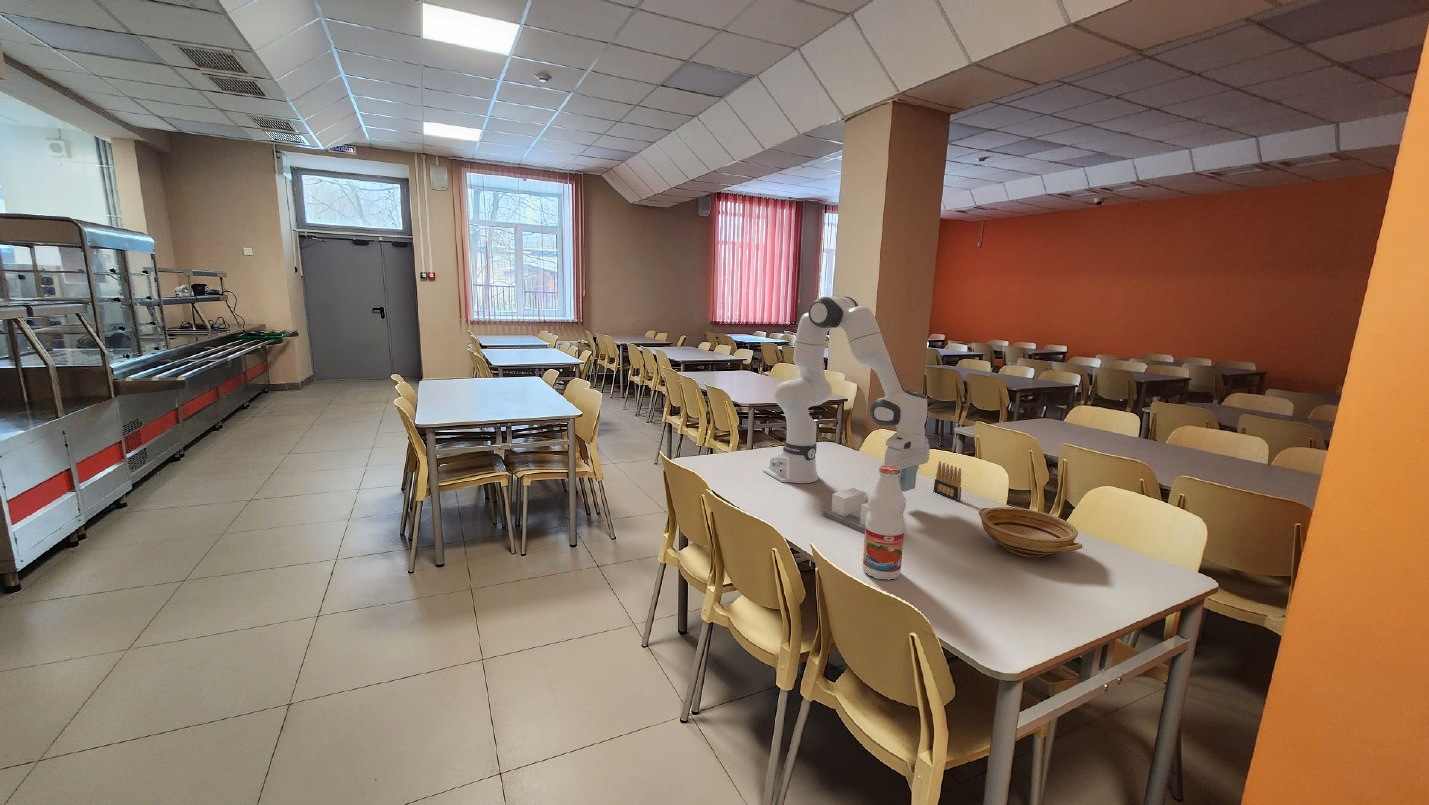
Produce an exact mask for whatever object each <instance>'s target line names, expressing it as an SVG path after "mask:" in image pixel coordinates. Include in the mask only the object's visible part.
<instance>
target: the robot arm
mask: <svg viewBox="0 0 1429 805" xmlns="http://www.w3.org/2000/svg"><path fill="white" fill-rule="evenodd" d="M836 328H837V329H838V328H841V329H842V330H843V331H844V332H845V335H846V338H847V342H848V344H849V348H850V351H851V353H852V355H853V357H854V359H855V360H856V361H857V362H858V363H860V364H862V365H865V367H866V366H867V367H869V368H870V369H872V370H873V372H875V373H876V375H877V377H878V379H879V381H880V384H881V387H882V389H883V393H884V395H885V396H884V397H880V398H878V399H876V400H874V401H873V402H872V403H871V405H870V408H869V414H870V418H871V419H872V421H873V422H874V423H875V424H877V426H878V425H879V426H883V427H890V426H892V427H893V426H894V427H896V431H895V433H893V435H891V436H890V437H889V438H887V439H886V440H885V446H887V447H886V449H885V451H884V452H885V453H884V460H883V461H884V463H883V465H893V466H897V467H899V469H900V472H902V469H906V468H909V467H913V466H917V472H918V470H919V468H920V465H925V464H928V462H929V460H930V444H929V439H928V437H927V436H925V434H926V430H925V424H926V421H927V419H928V418H927V415H928V400H927V396H926V395H925V394H924V393H922V392H920V391H918V390H913V389H904V387H903V385H902V382H901V380H900V377H899V375H898V372H897V370H896V367H895V364H894V363H893V360H892V358H891V356H890V354H889V352H888V349H887V347H886V345H885V342H884V338H883V335H882V332H881V329H880V327H879V324H878V322H877V320H876V317H875V316H874V313H873V311H872V309H870V308H869V307H868V306H865V305H859V303H858V302H857V301H856V300H855V299H854V298H852V297H849V296H842V295H841V296H840V295H831V296H822V297H819V298H816V299H814V300H813V301H812V302H811V304H810V305H809V307H808V312H806V313H803V315H801V317H800V319H799V322H798V326H797V330H796V335H795V340H794V341H795V342H794V347H793V357H792V358H793V359H792V361H793V363H794V365H795V366H796V367H797V368H798V369H799V378H794V379H787V380H785V381H783V382H781V383H779V384H777V386H776V387H775V389H774V400H775V403H776V405H778V406H779V407H780V408H781V410H782V411H783V413H784V416H785V419H786V440H785V441H782V442H781V446H783V447H782V450H780V451H778V452H777V453H775V454H773V455H772V456H771V458H770V460H769V466H766V467H764V468H763V471H762V472H764V473H765V474H767V475H768V476H770V477H772V478H774V479H776V480H777V481H779V482H781V483H794V484H809V483H814V482H816V481H818V480H819V477H818V471H817V470H818V469H817V459H816V454H817V449H818V448H817V442H816V440H817V423H816V421H815V420H814V419H813V418H812V417H811V415H810V413H809V412H810V411H809V407H814V406H815V407H817V406H819V405H822V404H823V403H826V402H828V401H829V400H830V399H831V398H832V391H833V390H832V386H831V384H830V382H829V380H827V378H826V376H825V370H824V358H825V350H826V341H827V335H828V332H829V331H830V329H836ZM898 479H899V482H901V481H902V479H903V476H901V473H899V475H898Z"/></svg>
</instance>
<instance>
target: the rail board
mask: <svg viewBox="0 0 1429 805" xmlns="http://www.w3.org/2000/svg"><path fill="white" fill-rule="evenodd" d="M868 512H869V506H868V502H866V491H863V490H861V489H857V488H854V487H853V488H849V489H845V490H841V491H837V492H834V493H832V499H831V508H830V509H825V510H823V511H822V516H823V517H825V518H828V519H829V520H832V521H835V522H837V523H839V524H842V525H845V526H846V527H849V528H851V529H853V530H855V531H858V532H861V533H862V532H863V534H865V524H866V517H867V514H868Z"/></svg>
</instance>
